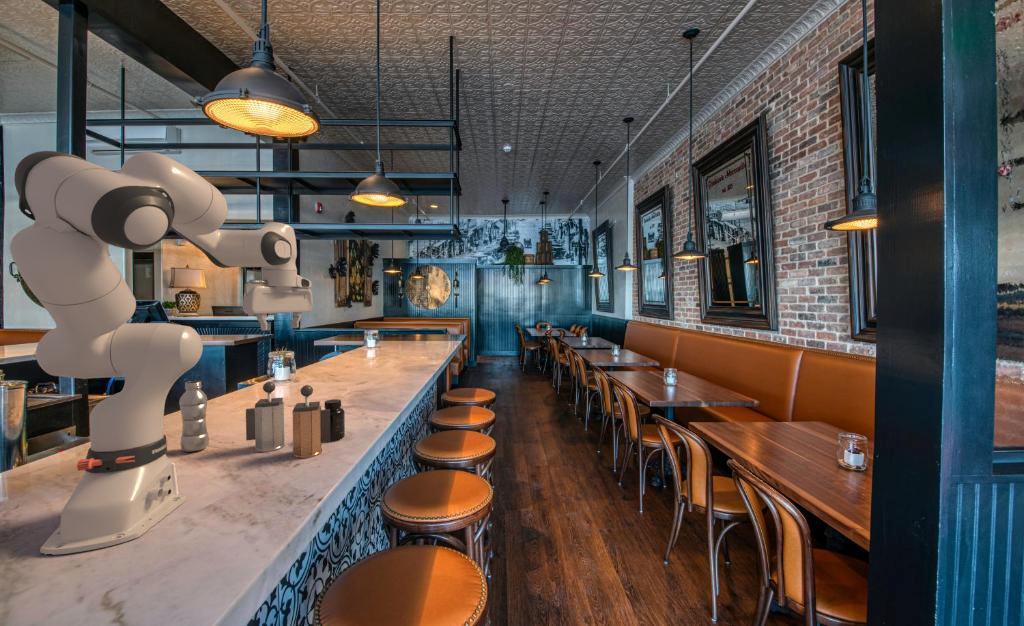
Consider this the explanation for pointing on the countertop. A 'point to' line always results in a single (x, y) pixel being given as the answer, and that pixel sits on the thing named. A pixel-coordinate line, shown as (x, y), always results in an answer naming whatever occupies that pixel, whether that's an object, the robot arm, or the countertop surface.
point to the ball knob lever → (306, 393)
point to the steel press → (266, 424)
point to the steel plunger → (269, 389)
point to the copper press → (310, 429)
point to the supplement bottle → (336, 419)
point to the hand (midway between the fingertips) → (280, 329)
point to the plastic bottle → (193, 418)
